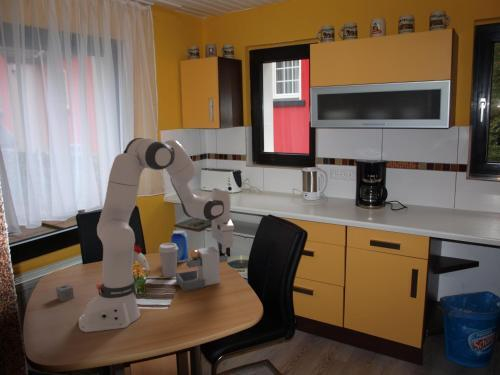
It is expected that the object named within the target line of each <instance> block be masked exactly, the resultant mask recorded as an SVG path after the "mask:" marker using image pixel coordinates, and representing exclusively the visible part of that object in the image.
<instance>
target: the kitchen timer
mask: <svg viewBox="0 0 500 375" xmlns="http://www.w3.org/2000/svg"><path fill="white" fill-rule="evenodd" d="M142 250H143V247H141V248H140V244H139V245H136V244H134V251H133V264H134V263H135V261H138V262H139V263H141V265H142V267H143V268H146V269H147V270H148V271H149V272H150V273H151V271H150V270H151V269H150V265H149V262H148V259H146V256H145V255H144V254H143V253H142Z"/></svg>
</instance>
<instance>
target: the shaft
mask: <svg viewBox="0 0 500 375" xmlns="http://www.w3.org/2000/svg"><path fill="white" fill-rule="evenodd" d="M221 249H222V244H220V243H219V249H218V251H219V261H220V263H225V262H228V254H226V253H222V252H221ZM185 263H186V266H187V268H196V267H198V266H202V259H201V258H200V257H198V258H197V259H193V258H192V257H188V258H187V259H186V261H185Z"/></svg>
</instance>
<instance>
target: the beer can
mask: <svg viewBox="0 0 500 375" xmlns="http://www.w3.org/2000/svg"><path fill="white" fill-rule="evenodd" d="M170 239H171V243H175V244H176V245H177V247H178V250H177V263H180V264H181V263H184V262H185V263H186V259H187V258H189V248H188V247H189V245H188V234H187V233H186V230H184V229H176V230H175V229H174V230H173V231H172V234H171V238H170Z"/></svg>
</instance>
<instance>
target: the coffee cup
mask: <svg viewBox="0 0 500 375" xmlns="http://www.w3.org/2000/svg"><path fill="white" fill-rule="evenodd" d="M177 250H178V247H177V245H176V244H175V243H172V242H164V243H161V244H160V245H159V247H158V250H157V251H158V252H159V257H160V264H161V271H162V277H164V278H173V277H176V273H177V268H178V267H177V266H178V264H177V263H178V262H177Z"/></svg>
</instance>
